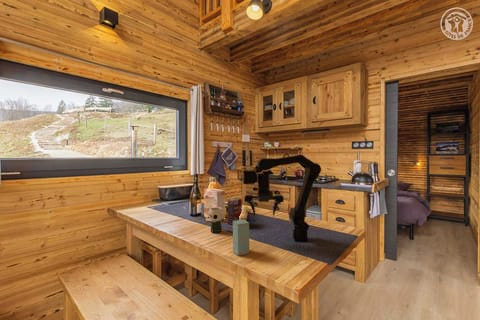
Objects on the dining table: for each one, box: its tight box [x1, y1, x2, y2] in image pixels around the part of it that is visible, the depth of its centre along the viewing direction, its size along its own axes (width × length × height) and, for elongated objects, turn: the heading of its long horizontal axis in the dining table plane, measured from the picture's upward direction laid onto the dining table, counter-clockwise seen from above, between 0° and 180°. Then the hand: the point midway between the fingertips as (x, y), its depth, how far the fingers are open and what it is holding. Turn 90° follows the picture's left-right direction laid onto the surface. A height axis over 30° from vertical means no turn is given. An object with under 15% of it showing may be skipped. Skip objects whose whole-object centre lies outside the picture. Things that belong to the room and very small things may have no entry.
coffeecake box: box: [203, 187, 226, 218], centre depth 152 cm, size 15×7×20 cm, turn 45°
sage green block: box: [232, 218, 250, 256], centre depth 99 cm, size 5×5×13 cm
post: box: [233, 250, 250, 256], centre depth 99 cm, size 6×6×4 cm
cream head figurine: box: [208, 207, 225, 234], centre depth 125 cm, size 11×7×13 cm, turn 61°
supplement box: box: [227, 197, 243, 228], centre depth 136 cm, size 9×5×16 cm, turn 143°
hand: (264, 215), depth 110 cm, fingers open, 9 cm apart
